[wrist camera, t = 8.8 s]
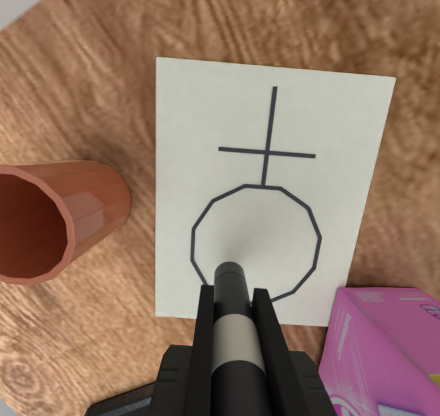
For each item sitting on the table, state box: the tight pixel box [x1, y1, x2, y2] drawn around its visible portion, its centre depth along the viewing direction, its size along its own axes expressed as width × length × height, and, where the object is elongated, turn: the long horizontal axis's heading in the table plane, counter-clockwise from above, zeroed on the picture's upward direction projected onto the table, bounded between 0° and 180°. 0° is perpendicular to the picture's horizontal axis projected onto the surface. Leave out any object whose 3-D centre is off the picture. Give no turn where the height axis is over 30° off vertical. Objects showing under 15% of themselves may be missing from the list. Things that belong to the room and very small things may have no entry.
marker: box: [210, 261, 274, 416], centre depth 10 cm, size 2×2×13 cm
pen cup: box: [0, 160, 132, 285], centre depth 14 cm, size 6×6×7 cm
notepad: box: [155, 57, 396, 327], centre depth 17 cm, size 20×16×1 cm
